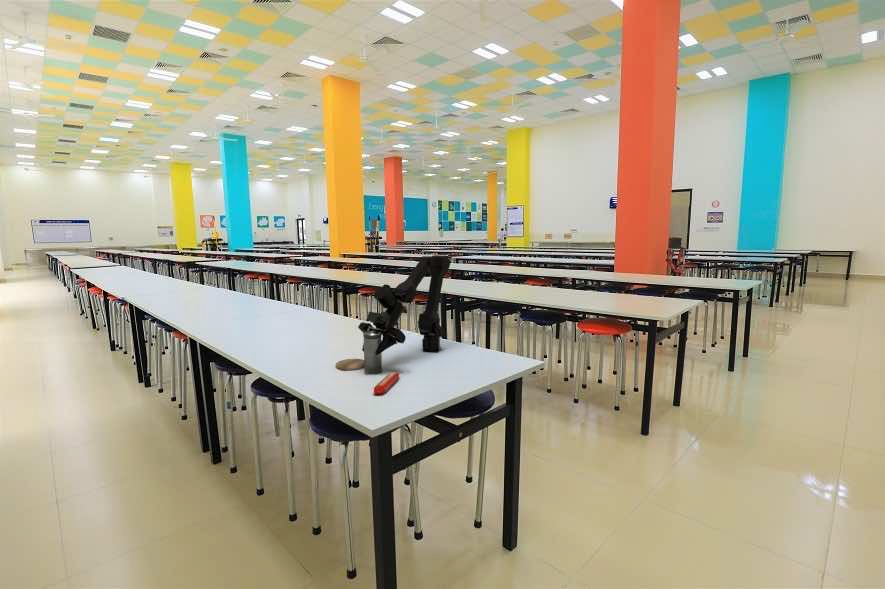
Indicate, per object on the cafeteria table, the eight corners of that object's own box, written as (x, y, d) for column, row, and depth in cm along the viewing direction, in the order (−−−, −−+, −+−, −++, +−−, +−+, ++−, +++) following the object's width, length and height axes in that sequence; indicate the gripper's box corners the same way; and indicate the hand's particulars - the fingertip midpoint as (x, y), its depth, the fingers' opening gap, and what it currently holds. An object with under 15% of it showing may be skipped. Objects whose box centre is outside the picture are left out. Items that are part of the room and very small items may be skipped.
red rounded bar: (390, 378, 143) (390, 369, 142) (400, 379, 142) (400, 370, 141) (371, 396, 127) (371, 386, 127) (383, 397, 126) (382, 387, 126)
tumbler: (384, 369, 151) (383, 330, 149) (379, 375, 145) (378, 335, 143) (367, 368, 152) (366, 329, 150) (361, 374, 146) (360, 334, 144)
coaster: (370, 362, 160) (370, 359, 160) (360, 371, 149) (360, 368, 149) (343, 360, 162) (342, 358, 161) (330, 369, 151) (330, 367, 151)
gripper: (361, 300, 154) (338, 336, 147) (399, 305, 143) (376, 344, 136) (377, 318, 161) (356, 353, 154) (415, 324, 150) (394, 362, 143)
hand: (369, 352), depth 147 cm, fingers closed on tumbler, 6 cm apart
